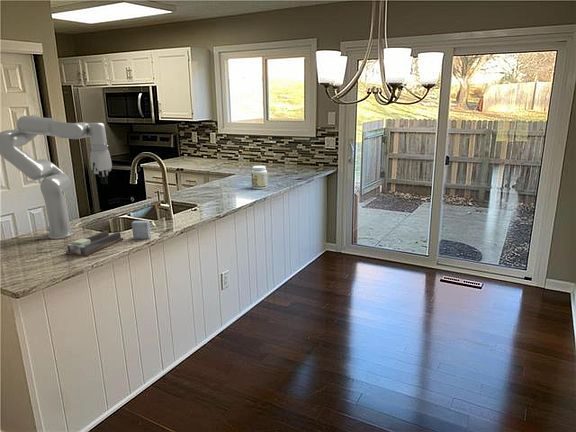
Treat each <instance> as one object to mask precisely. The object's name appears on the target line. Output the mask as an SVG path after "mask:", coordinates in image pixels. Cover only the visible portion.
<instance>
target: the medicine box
mask: <svg viewBox="0 0 576 432" xmlns="http://www.w3.org/2000/svg"><path fill="white" fill-rule="evenodd" d="M150 224H151V222H150V220H134V221H132V222H131V229H132V230H131V231H132V238H133V240H143V239H144V240H146V239H147V240H148V239H150V238H151V236H152V233H151V230H152V229H151V225H150Z"/></svg>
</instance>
